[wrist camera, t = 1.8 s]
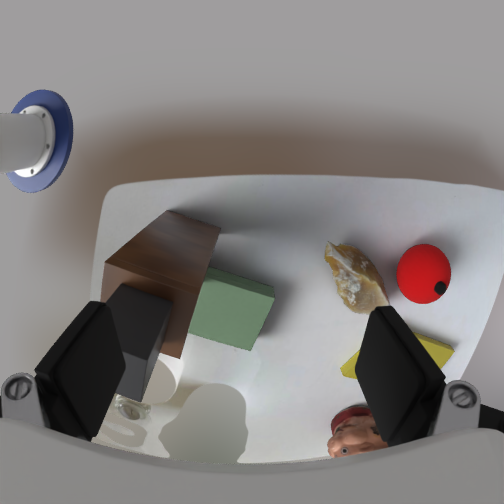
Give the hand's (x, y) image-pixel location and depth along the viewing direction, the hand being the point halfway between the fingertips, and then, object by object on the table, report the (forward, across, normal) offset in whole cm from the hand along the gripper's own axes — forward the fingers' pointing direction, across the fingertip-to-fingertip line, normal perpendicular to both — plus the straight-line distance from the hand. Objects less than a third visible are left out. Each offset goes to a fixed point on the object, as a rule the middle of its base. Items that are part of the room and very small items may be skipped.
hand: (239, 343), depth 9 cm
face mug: (+30, -26, +48) cm, 62 cm away
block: (+11, +8, +6) cm, 15 cm away
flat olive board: (+30, -32, +30) cm, 53 cm away
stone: (+30, -16, +11) cm, 36 cm away
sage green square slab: (+30, +2, +16) cm, 34 cm away
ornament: (+30, -27, +9) cm, 41 cm away
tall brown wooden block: (+30, +8, +6) cm, 32 cm away
